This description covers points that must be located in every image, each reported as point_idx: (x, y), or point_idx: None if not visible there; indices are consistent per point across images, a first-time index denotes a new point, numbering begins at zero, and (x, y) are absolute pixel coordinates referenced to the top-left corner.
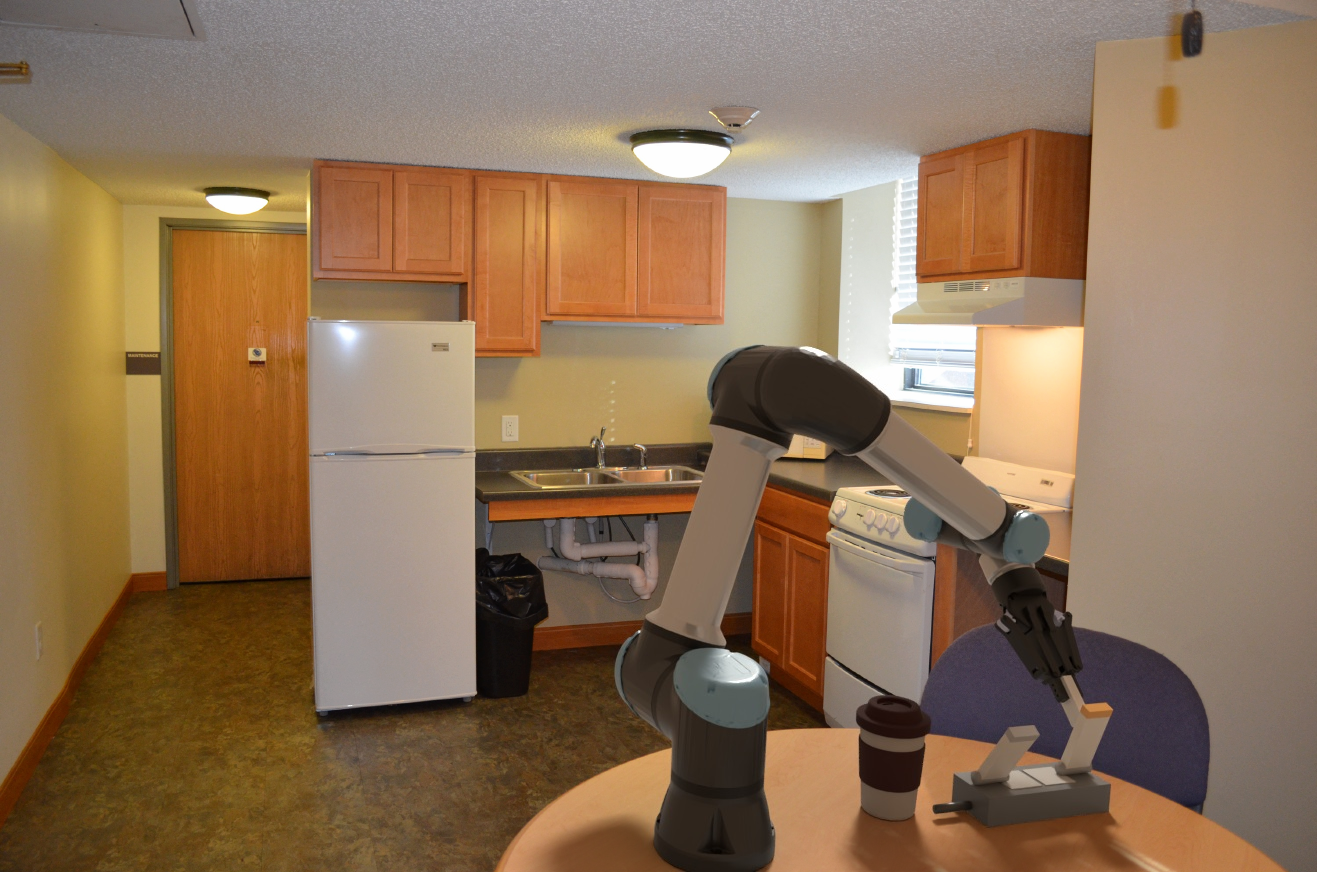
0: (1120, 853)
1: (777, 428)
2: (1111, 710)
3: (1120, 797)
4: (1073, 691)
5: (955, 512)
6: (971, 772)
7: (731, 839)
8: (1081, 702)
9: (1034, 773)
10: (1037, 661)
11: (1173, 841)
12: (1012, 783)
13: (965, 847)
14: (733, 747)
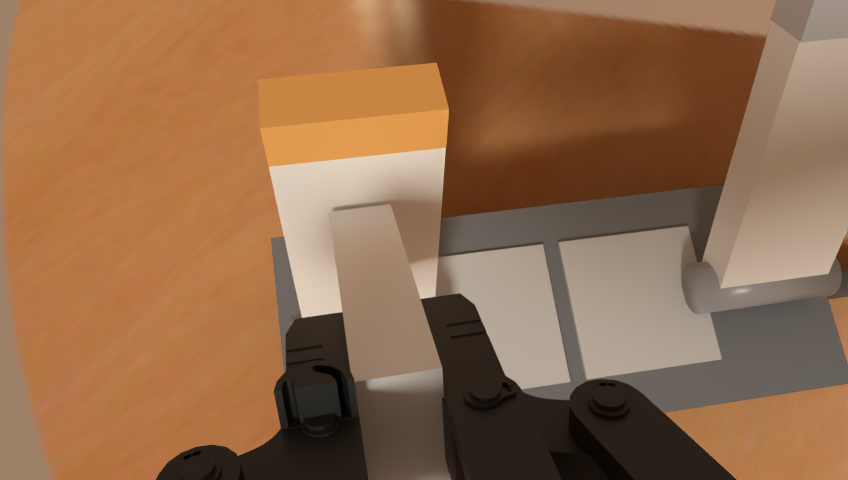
0: (423, 36)
1: None
2: (272, 80)
3: (156, 365)
4: (389, 294)
5: None
6: (837, 289)
7: None
8: (355, 258)
9: (535, 344)
10: (685, 450)
11: (212, 73)
12: (664, 268)
13: None
14: None
